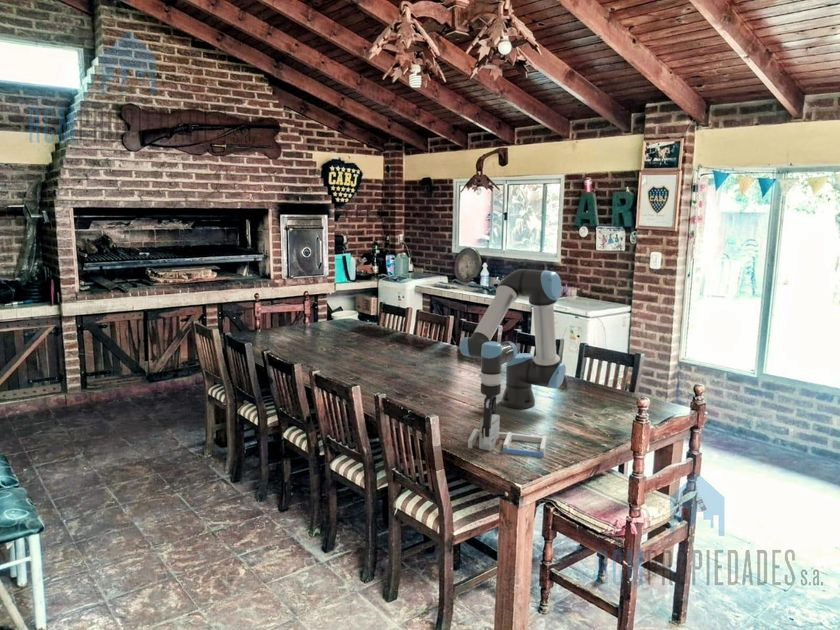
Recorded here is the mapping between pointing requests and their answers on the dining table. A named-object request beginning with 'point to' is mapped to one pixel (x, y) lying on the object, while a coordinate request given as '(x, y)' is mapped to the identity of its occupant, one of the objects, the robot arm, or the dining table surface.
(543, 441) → the white and blue frame
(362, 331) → the dining table surface
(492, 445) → the ink box
